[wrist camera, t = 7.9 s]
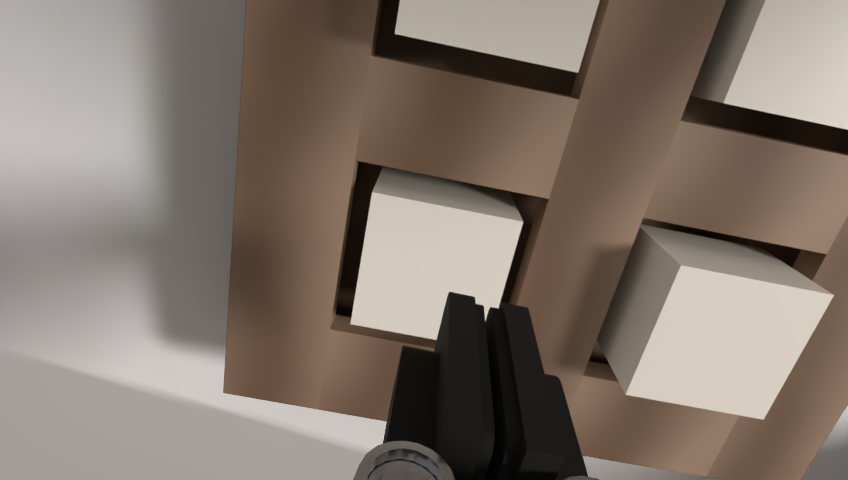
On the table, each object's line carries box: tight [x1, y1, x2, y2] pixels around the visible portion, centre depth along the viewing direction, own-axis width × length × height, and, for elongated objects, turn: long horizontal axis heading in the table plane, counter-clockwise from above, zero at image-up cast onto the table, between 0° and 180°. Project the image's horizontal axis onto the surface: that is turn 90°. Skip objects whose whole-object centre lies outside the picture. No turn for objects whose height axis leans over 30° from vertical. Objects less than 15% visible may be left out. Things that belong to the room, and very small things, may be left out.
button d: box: [597, 224, 834, 420], centre depth 17 cm, size 5×5×4 cm
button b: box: [350, 166, 523, 340], centre depth 17 cm, size 5×5×4 cm
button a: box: [690, 0, 848, 130], centre depth 15 cm, size 5×5×4 cm
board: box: [223, 0, 848, 480], centre depth 17 cm, size 22×22×4 cm
